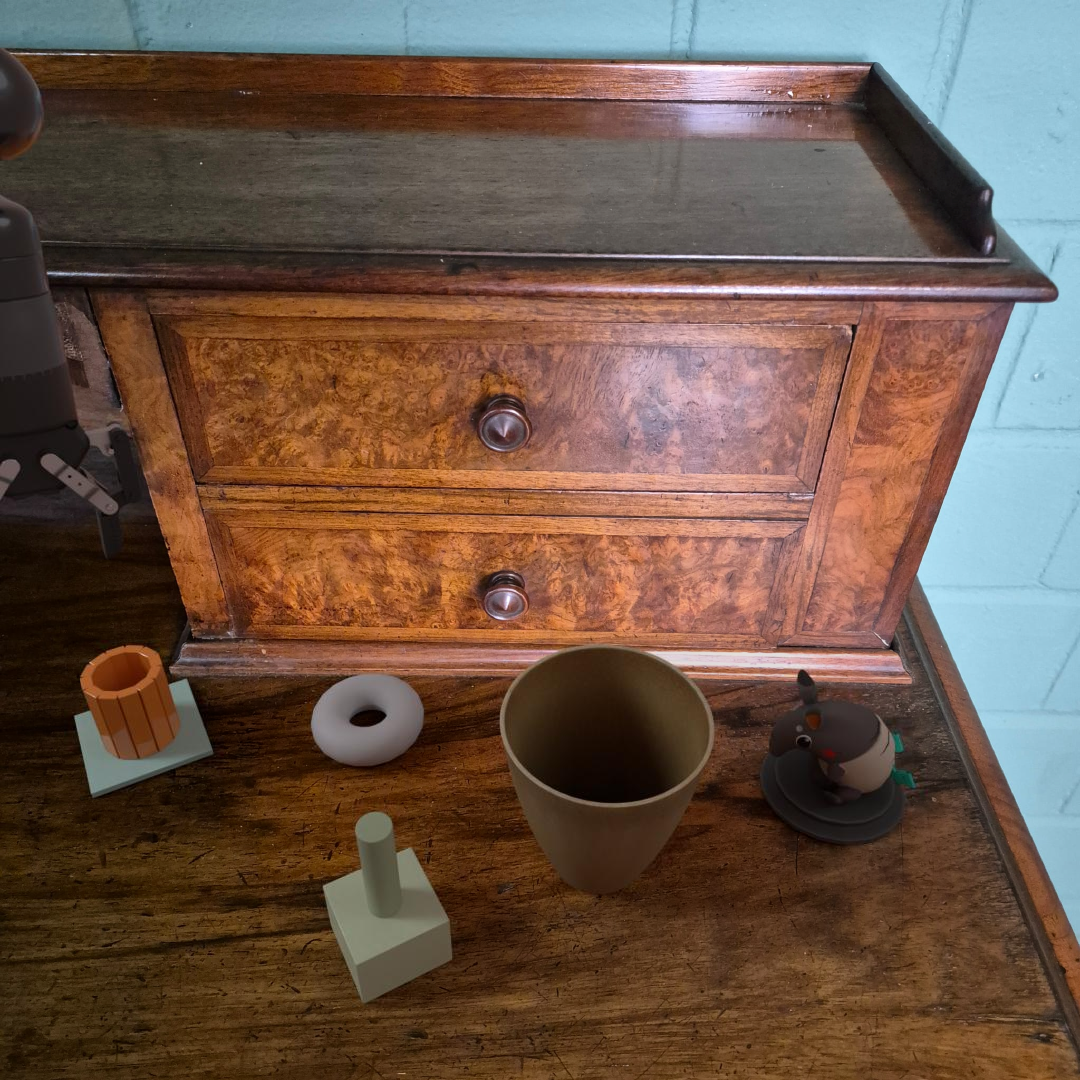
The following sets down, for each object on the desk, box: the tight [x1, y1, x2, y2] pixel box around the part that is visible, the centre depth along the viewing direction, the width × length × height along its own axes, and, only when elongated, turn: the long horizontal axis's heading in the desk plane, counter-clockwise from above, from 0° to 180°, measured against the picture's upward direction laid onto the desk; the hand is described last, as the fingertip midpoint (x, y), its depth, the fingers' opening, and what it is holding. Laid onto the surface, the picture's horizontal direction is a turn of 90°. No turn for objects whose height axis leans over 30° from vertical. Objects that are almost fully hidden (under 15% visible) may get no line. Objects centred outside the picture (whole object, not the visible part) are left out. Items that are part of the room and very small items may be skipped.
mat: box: [73, 678, 214, 799], centre depth 85 cm, size 10×10×1 cm
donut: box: [310, 673, 425, 767], centre depth 85 cm, size 10×4×10 cm
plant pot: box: [499, 643, 715, 895], centre depth 71 cm, size 15×15×16 cm
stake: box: [322, 811, 453, 1005], centre depth 65 cm, size 7×7×14 cm
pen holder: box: [79, 644, 181, 760], centre depth 82 cm, size 6×6×8 cm
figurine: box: [758, 669, 916, 845], centre depth 77 cm, size 11×12×12 cm
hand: (50, 565), depth 73 cm, fingers open, 8 cm apart
